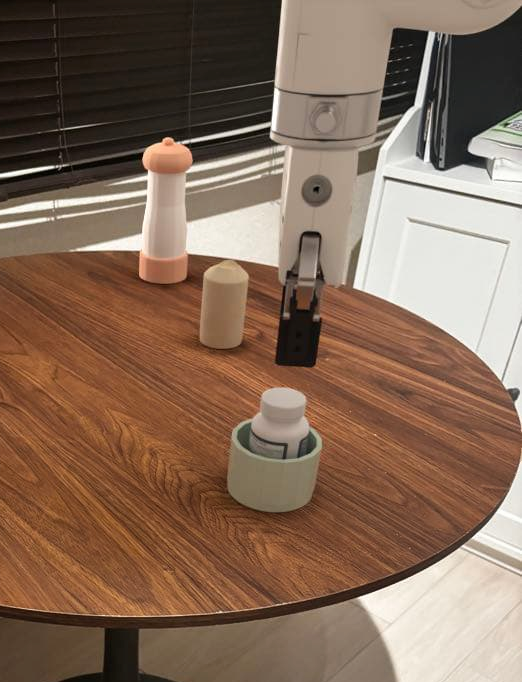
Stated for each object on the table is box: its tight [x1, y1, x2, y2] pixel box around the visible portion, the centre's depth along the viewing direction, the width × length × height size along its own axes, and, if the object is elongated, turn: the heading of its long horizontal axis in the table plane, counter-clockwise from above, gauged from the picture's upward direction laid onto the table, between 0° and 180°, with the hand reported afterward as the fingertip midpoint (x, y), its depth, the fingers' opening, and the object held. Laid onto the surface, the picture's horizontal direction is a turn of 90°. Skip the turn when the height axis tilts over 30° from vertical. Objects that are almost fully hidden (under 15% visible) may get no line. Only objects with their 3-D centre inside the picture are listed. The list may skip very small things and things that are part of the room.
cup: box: [226, 417, 323, 513], centre depth 76 cm, size 8×8×6 cm
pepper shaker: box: [138, 136, 194, 285], centre depth 118 cm, size 7×7×19 cm
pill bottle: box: [248, 387, 310, 460], centre depth 75 cm, size 5×5×9 cm
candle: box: [199, 259, 250, 350], centre depth 102 cm, size 6×6×10 cm
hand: (296, 339), depth 69 cm, fingers open, 9 cm apart
